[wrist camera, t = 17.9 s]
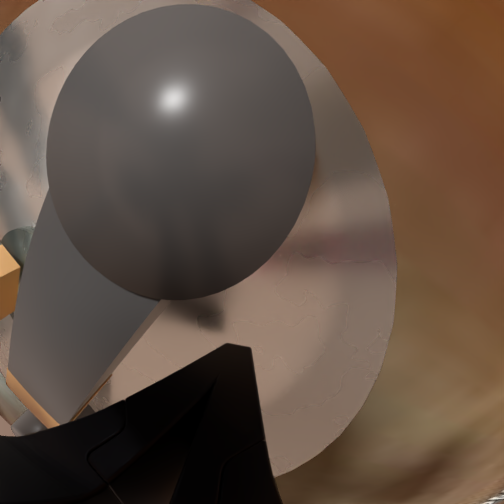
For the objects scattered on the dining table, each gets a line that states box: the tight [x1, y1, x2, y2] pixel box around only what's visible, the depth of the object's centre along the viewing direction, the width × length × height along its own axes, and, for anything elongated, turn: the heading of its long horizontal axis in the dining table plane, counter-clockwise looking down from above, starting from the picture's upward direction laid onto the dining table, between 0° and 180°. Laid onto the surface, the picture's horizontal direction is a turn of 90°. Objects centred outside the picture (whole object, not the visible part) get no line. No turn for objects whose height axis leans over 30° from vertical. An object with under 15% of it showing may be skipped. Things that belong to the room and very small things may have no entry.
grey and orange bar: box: [11, 404, 95, 436], centre depth 11 cm, size 11×4×4 cm, turn 155°
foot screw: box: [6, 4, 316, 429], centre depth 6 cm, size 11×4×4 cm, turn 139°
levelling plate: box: [0, 0, 397, 477], centre depth 10 cm, size 25×25×2 cm
